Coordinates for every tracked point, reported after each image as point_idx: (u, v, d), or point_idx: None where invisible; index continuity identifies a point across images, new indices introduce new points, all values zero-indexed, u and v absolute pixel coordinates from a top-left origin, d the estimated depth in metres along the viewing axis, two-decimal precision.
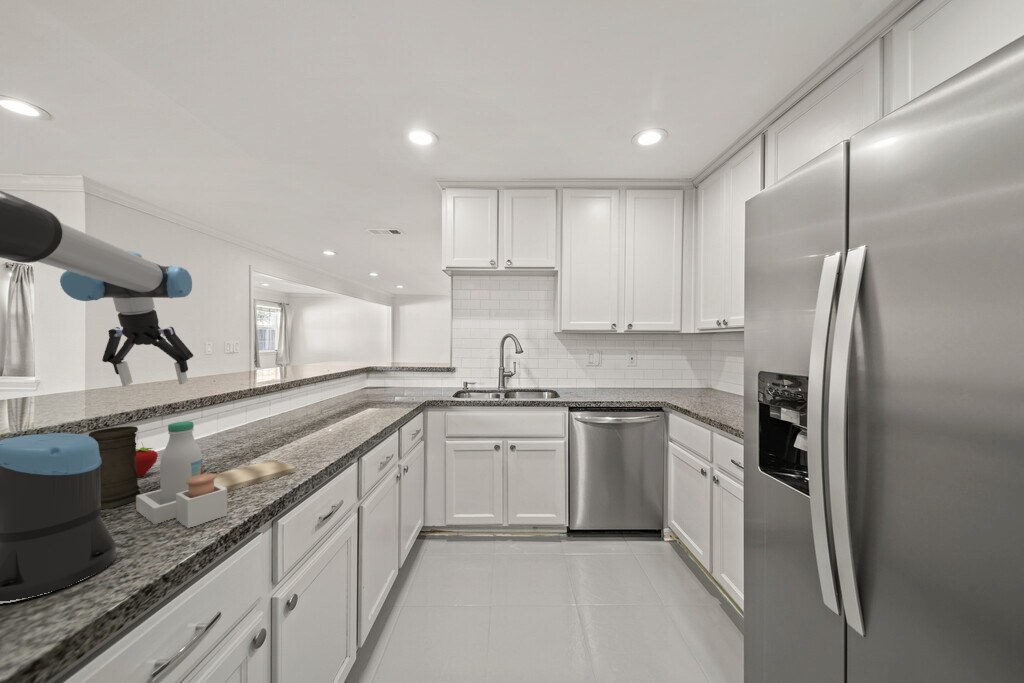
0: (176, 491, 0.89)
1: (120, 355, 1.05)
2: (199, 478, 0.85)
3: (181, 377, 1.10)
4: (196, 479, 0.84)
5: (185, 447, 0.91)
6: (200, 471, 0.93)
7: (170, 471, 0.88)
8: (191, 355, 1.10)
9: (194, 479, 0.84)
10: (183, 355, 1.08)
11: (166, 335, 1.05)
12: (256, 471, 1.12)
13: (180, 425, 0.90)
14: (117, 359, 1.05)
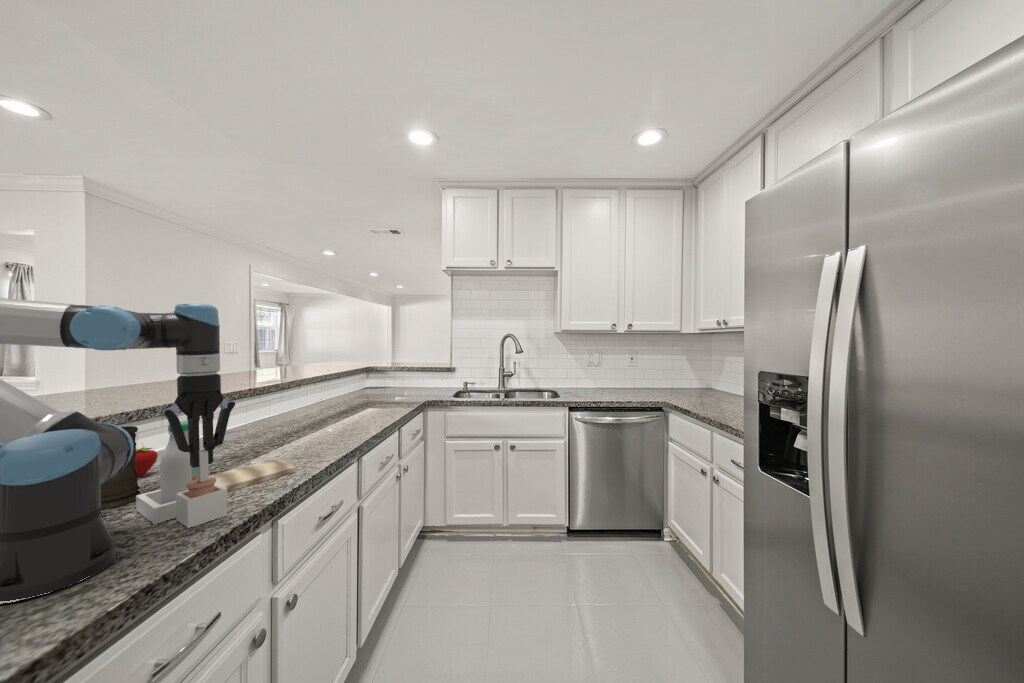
0: (176, 491, 0.89)
1: None
2: (199, 482, 0.85)
3: (196, 471, 0.86)
4: (196, 483, 0.84)
5: None
6: None
7: (170, 471, 0.88)
8: (181, 450, 0.82)
9: (194, 483, 0.84)
10: None
11: None
12: (256, 471, 1.12)
13: None
14: None
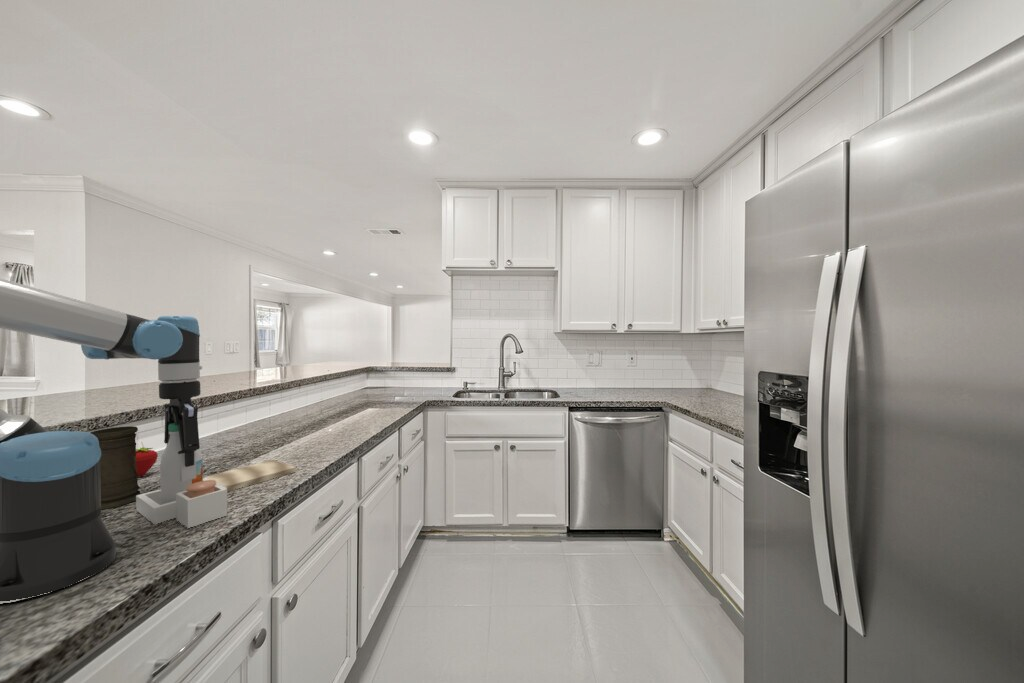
0: (176, 491, 0.89)
1: (169, 435, 0.93)
2: (199, 485, 0.85)
3: (183, 473, 0.89)
4: (196, 486, 0.84)
5: None
6: (200, 471, 0.93)
7: (170, 471, 0.88)
8: (195, 447, 0.89)
9: (194, 486, 0.84)
10: (185, 444, 0.88)
11: (183, 415, 0.88)
12: (256, 471, 1.12)
13: None
14: (168, 440, 0.94)
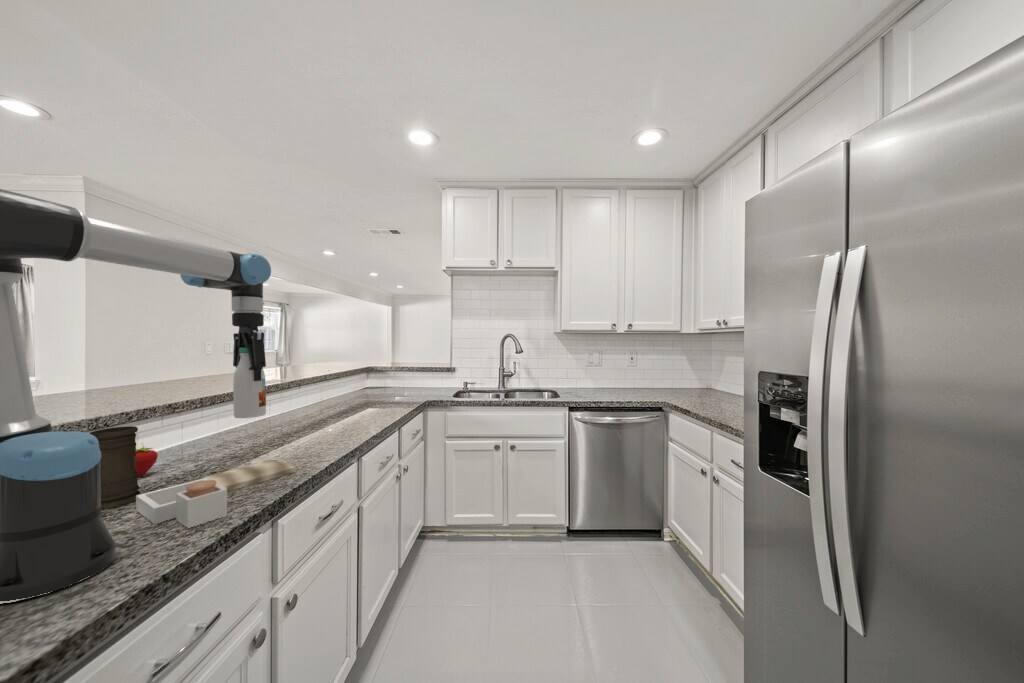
0: (247, 401, 1.08)
1: (238, 358, 1.13)
2: (199, 485, 0.85)
3: (252, 386, 1.08)
4: (196, 486, 0.84)
5: None
6: (264, 387, 1.12)
7: (242, 384, 1.08)
8: (263, 365, 1.08)
9: (194, 486, 0.84)
10: (255, 361, 1.07)
11: (253, 338, 1.07)
12: (256, 471, 1.12)
13: None
14: (237, 363, 1.13)
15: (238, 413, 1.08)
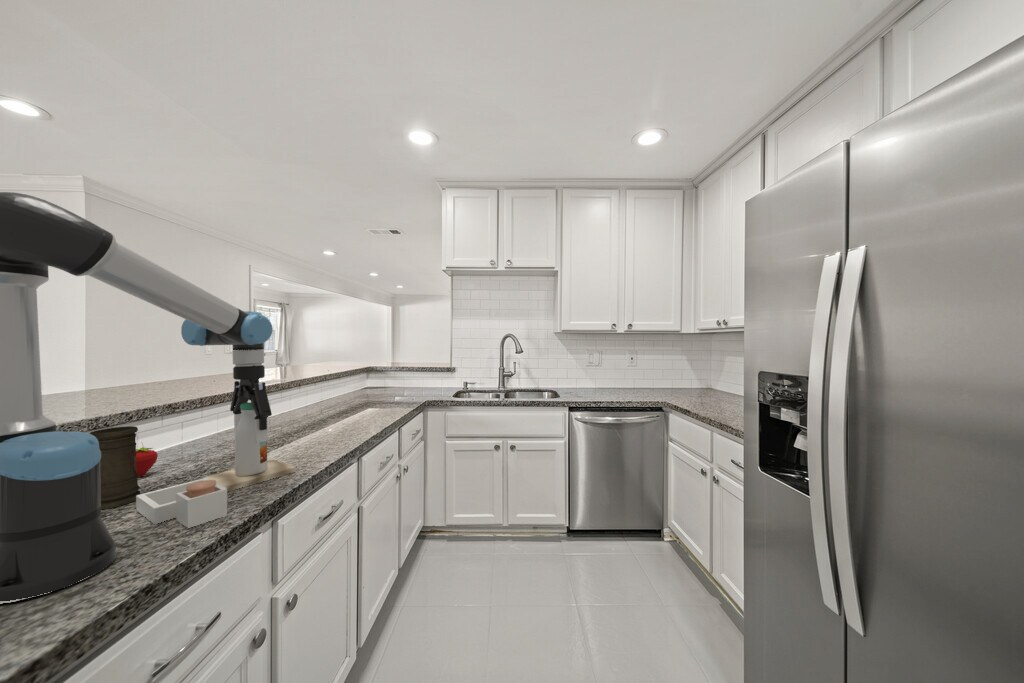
0: (248, 458, 1.08)
1: (236, 406, 1.14)
2: (199, 485, 0.85)
3: (258, 435, 1.07)
4: (196, 486, 0.84)
5: (254, 423, 1.10)
6: (265, 443, 1.12)
7: (243, 442, 1.08)
8: (268, 413, 1.06)
9: (194, 486, 0.84)
10: (260, 411, 1.06)
11: (254, 389, 1.07)
12: None
13: (250, 404, 1.10)
14: (235, 409, 1.14)
15: (239, 471, 1.08)
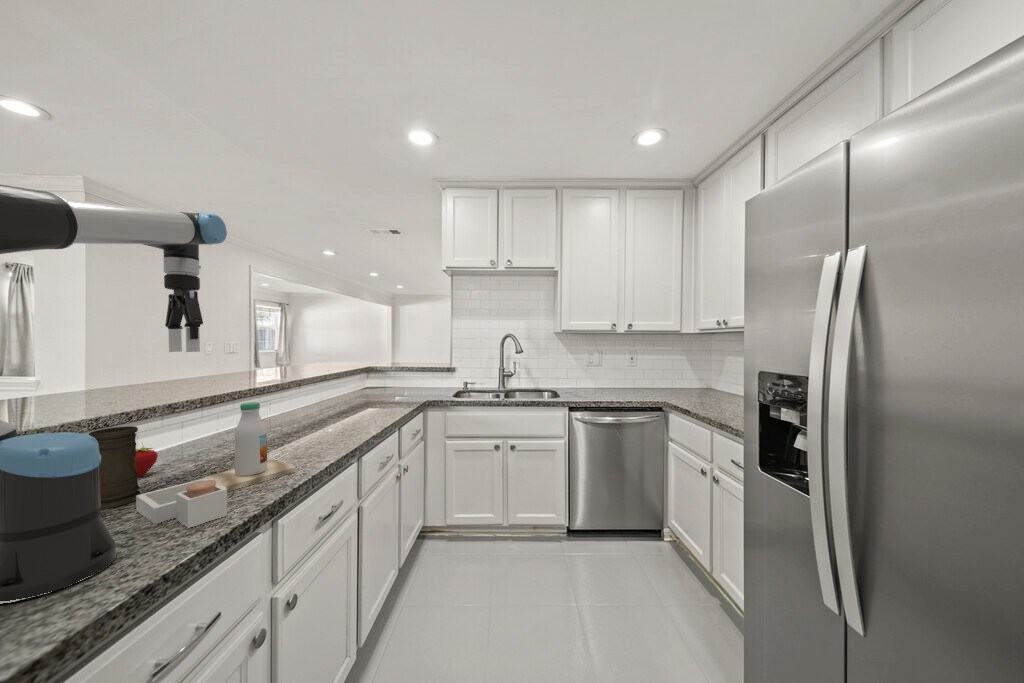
0: (248, 458, 1.08)
1: (170, 319, 1.09)
2: (199, 485, 0.85)
3: (188, 344, 1.02)
4: (196, 486, 0.84)
5: (254, 423, 1.10)
6: (265, 443, 1.12)
7: (243, 442, 1.08)
8: (199, 321, 1.02)
9: (194, 486, 0.84)
10: (190, 318, 1.01)
11: (185, 297, 1.03)
12: None
13: (250, 404, 1.10)
14: (169, 323, 1.10)
15: (239, 471, 1.08)
